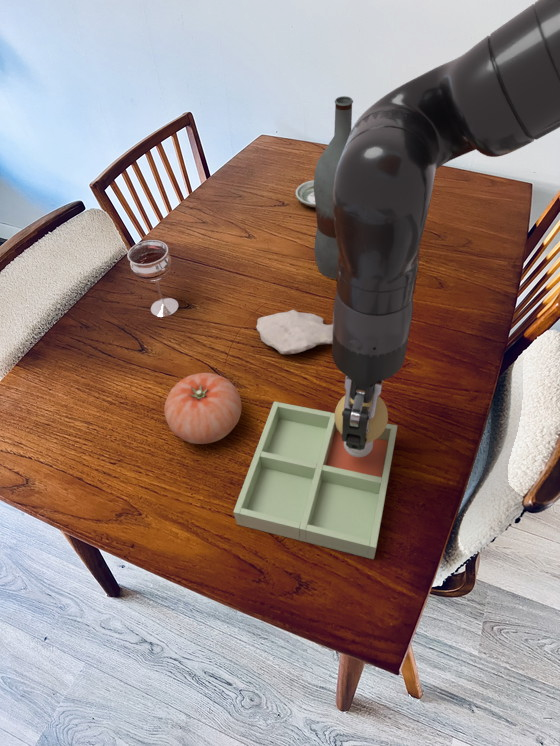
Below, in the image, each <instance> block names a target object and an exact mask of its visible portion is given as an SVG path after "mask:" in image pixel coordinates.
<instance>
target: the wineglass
mask: <svg viewBox="0 0 560 746" xmlns="http://www.w3.org/2000/svg"><path fill="white" fill-rule="evenodd" d="M127 260H128V261H129V266H130V269H131V272H132V273H133V275H135V277H136V278H138V279H140V280H141V281H144V282H148V283H154V285H155V287H156V290H157V292H158V295H159V298H160V299H158V300H156V301H154V302H153V303H152V304H151V307H150V312H151V313H152V315H154V316H156V317H160V318H162V317H169V316H171V315H172V314H174V313H176V311H177V310H178V308H179V302H178V301H177V300H176V299H174V298H171V297H164V295H163V291H162V287H161V283H160V281H161V280H163V279H164V278H165V277H166V276H167V275H168V274H169V273H170V271H171V269H172V256H171V255H170V253H169V247H168V245H167V244H166V243H165V242H163V241H161V240H158V239H157V240H156V239H149V240H147V239H146V240H144V241H140V242H137V243H135V244H134V245H133V246H132V247H131V248H129V250H128V251H127Z"/></svg>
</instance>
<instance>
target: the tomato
mask: <svg viewBox="0 0 560 746" xmlns="http://www.w3.org/2000/svg"><path fill="white" fill-rule="evenodd" d="M242 408H243V404H242V398H241V396H240V393H239V391H238V389H237V388H236V387H235V385H234V384H233V383H232V382H231V381H230V380H229V379H228V378H226V377H224V376H222V375H220V374H216V373H212V372H200V373H193V374H191V375H188V376H185V377H184V378H182V379H181V380H178V382H177V383H176V384H175V385H174V386H173V387H172V388H171V389H170V392H169V393H168V395H167V397H166V400H165V403H164V409H163V410H164V411H163V412H164V417H165V421H166V423H167V426H168V427H169V429H170V430H171V431H172V433H173V434H174V435H175V436H177V437H178V438H179V439H181V440H183V441H185V442H188V443H189V444H194V445H195V444H196V445H199V444H200V445H204V444H206V445H207V444H212V443H214V442H218V441H221V440H222V439H224V438H225V437H227V435H229V434H230V433H231V432H232V431H233V430H234V428H236V425H237V424H238V422H239V421H240V417H241V414H242Z"/></svg>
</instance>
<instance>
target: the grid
mask: <svg viewBox="0 0 560 746" xmlns="http://www.w3.org/2000/svg"><path fill="white" fill-rule="evenodd" d="M334 415H335V412H330V411H326V410H321V409H315V408H310V407H304V406H301V405H300V406H299V405H295V404H290V403H285V402H279V401H273V403H272V405H271V408H270V411H269V413H268V416H267V419H266V422H265V424H264V428H263V430H262V433H261V436H260V438H259V441H258V443H257V446H256V448H255V452H254V453H253V454H254V455H253V457H252V460H251V463H250V465H249V467H248V471H247V474H246V476H245V479H244V481H243V485H242V487H241V490H240V491H239V492H240V493H239V495H238V497H237V500H236V504H235V506H234V509H233V511H232V512H233V516H234V519H235V523H236V525H238V526H241V527H246V528H249V529H253V530H258V531H261V532H265V533H269V534H271V535H272V534H273V535H277V536H280V537H285V538H288V539H292V540H295V541H300V542H304V543H308V544H311V545H316V546H319V547H324V548H328V549H331V550H335V551H339V552H343V553H346V554H351V555H354V556H359V557H362V558H366V559H369V560H375V556H376V551H377V547H378V542H379V541H378V540H379V534H380V528H381V523H382V517H383V511H384V505H385V501H386V494H387V488H388V483H389V478H390V477H389V476H390V472H391V465H392V461H393V460H392V459H393V455H394V449H395V442H396V438H397V430H398V425H397V424H391V423H387V425H386V428H385V430H384V432H383V433H382V434H381V435H380V436H379V437H378V438H377V439H375V440H374V441H373V448H372V450H371V452H370V453H369V454H368V455H366V456H364V457H354V456H352V455H350V454H349V453H347V451H346V450H345V448H344V441H342V438H341V437H342V434H341V433H340V432H339V430H338V429H337V427H336V424H335V417H334Z"/></svg>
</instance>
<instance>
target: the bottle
mask: <svg viewBox="0 0 560 746" xmlns="http://www.w3.org/2000/svg"><path fill="white" fill-rule="evenodd" d="M353 103H354V100H353V98H351V96H346V95H344V96H339V97H336V98H335V100H334V104H335V106H334V107H335V108H334V109H335V110H334V133H333V134H334V135H333V137H332V138H331V140H330V141H329V143H328V145H327V146H326V147H325V148H324V151H323V152H322V154H321V155H320V156H319V158H318V159H317V162H316V166H315V170H314V178H313V180H314V185H313V189H314V196H315V205H316V207H315V216H316V226H317V227H316V230H315V238H314V240H315V241H314V246H313V253H314V260H315V263H316V267H317V269H318V271H319V273H320V274H321V275H323V276H324V277H326V278H329V279H331V280H337V263H338V253H339V249H338V246H337V240H336V233H335V227H334V219H333V186H334V178H335V173H336V169H337V165H338V163H339V160H340V157H341V155H342V152H343V150H344V148H345V145H346V143H347V140H348V137H349V135H350V132H351V130H352V126H353V125H352V124H353V123H352V120H353Z"/></svg>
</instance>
